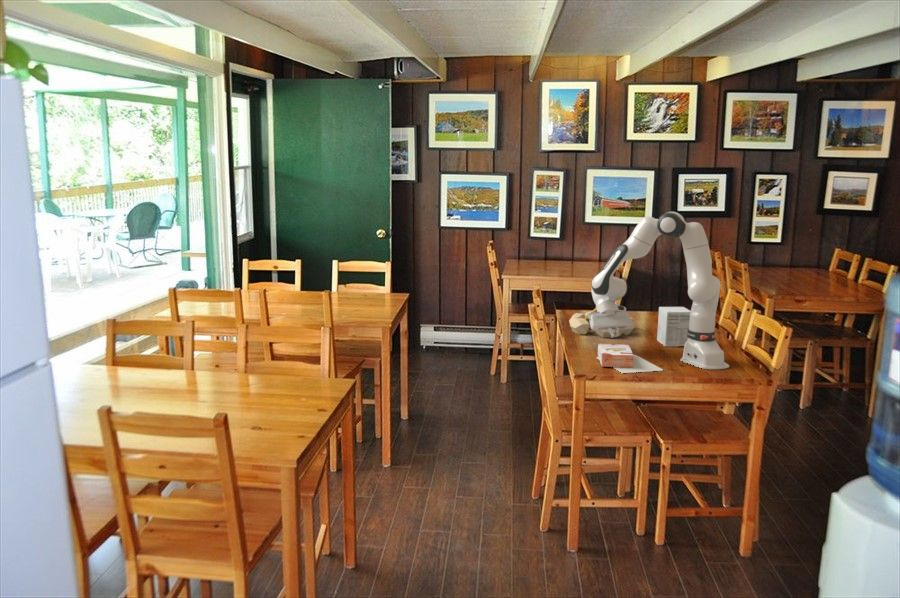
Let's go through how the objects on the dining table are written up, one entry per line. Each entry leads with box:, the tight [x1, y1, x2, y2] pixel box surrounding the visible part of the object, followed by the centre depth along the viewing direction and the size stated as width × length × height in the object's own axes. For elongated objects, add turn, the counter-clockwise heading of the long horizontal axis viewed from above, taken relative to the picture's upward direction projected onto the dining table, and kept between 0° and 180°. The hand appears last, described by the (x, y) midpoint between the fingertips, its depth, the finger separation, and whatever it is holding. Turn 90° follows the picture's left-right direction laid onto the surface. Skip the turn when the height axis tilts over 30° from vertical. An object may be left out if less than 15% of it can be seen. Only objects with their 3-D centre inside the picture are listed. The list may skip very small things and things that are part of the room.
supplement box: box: [656, 306, 691, 347], centre depth 381 cm, size 13×13×18 cm
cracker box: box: [597, 342, 635, 368], centre depth 346 cm, size 14×6×21 cm
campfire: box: [568, 307, 636, 339], centre depth 406 cm, size 35×34×17 cm
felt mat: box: [595, 354, 664, 375], centre depth 344 cm, size 26×20×1 cm
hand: (615, 336), depth 356 cm, fingers closed
